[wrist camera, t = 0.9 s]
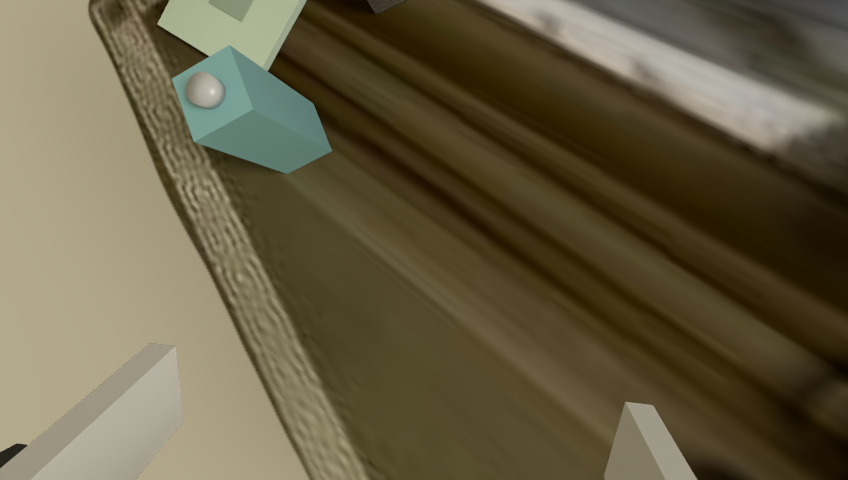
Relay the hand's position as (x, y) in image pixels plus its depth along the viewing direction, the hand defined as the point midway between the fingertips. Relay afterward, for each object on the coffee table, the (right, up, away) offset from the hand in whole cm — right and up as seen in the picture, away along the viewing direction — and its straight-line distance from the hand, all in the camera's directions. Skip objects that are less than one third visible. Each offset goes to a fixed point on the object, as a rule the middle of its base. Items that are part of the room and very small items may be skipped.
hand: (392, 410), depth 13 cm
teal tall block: (-10, +14, +25) cm, 30 cm away
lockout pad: (-15, +27, +27) cm, 41 cm away
